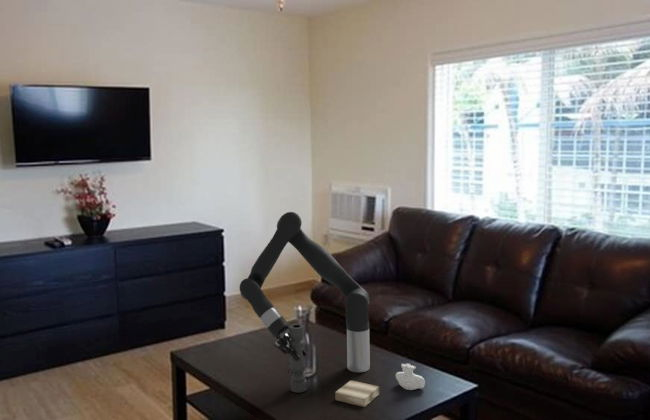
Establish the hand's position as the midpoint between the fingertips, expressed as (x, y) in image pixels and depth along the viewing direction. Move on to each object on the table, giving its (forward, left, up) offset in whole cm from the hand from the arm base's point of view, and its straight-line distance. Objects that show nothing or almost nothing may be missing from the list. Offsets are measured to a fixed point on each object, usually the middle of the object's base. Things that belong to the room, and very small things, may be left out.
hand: (301, 357), depth 224 cm
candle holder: (0, -2, -13) cm, 13 cm away
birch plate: (-6, +21, -13) cm, 25 cm away
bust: (-22, +35, -14) cm, 43 cm away
